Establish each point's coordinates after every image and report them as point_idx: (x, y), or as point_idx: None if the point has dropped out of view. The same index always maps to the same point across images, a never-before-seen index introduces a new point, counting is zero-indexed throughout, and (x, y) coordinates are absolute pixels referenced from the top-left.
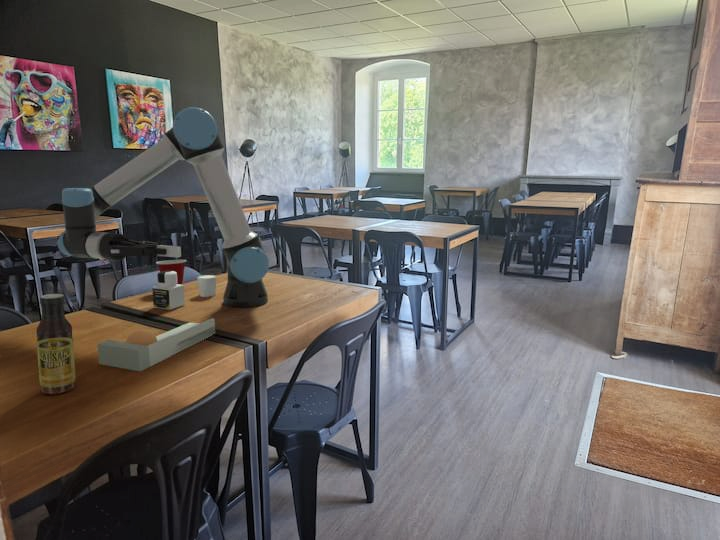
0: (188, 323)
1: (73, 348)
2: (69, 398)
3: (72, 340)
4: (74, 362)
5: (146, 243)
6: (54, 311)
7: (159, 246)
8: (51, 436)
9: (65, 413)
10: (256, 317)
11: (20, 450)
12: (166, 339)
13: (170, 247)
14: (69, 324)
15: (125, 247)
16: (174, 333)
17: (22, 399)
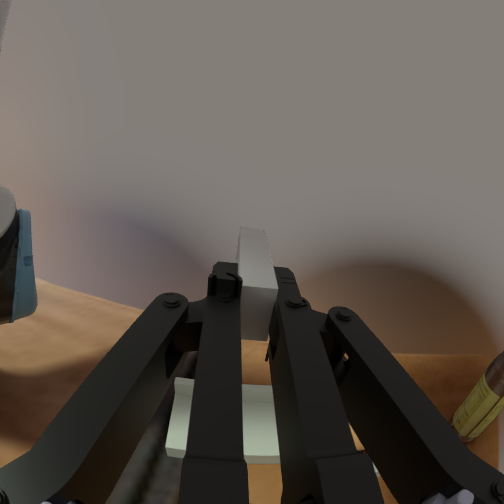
0: (176, 444)
1: (478, 382)
2: (457, 401)
3: (485, 371)
4: (466, 399)
5: (83, 472)
6: None
7: (275, 279)
8: (471, 358)
9: (462, 379)
10: (60, 360)
11: (485, 358)
12: None
13: (268, 245)
14: (499, 354)
15: (438, 417)
16: (256, 434)
17: (488, 432)
